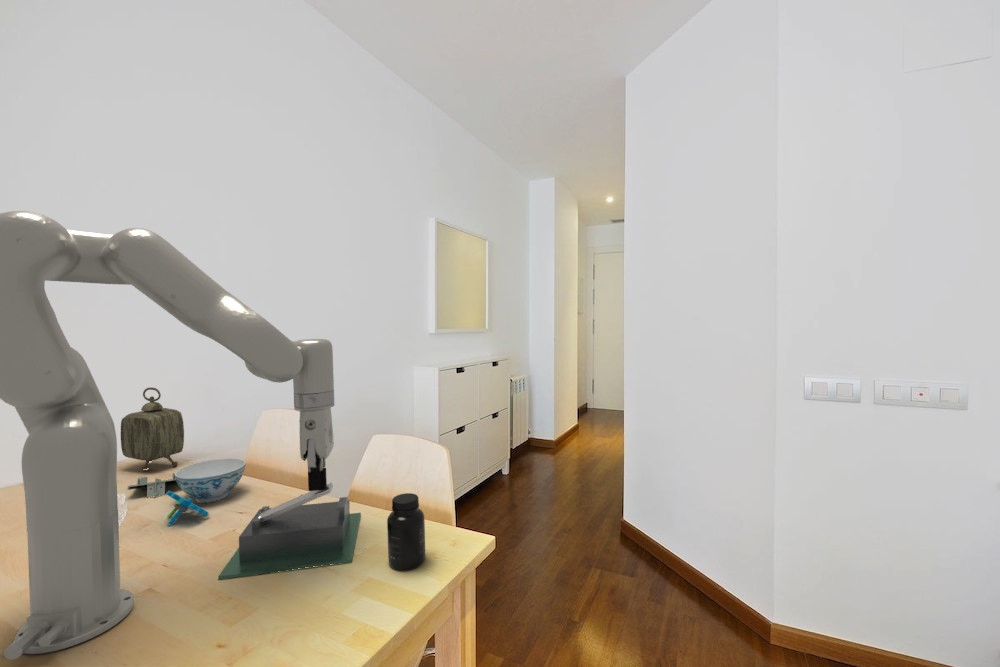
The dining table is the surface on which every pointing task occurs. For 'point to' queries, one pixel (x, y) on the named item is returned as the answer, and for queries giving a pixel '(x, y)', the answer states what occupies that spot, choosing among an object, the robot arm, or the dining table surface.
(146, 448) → the tabletop clock
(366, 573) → the dining table surface
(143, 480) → the metal bracket
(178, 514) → the gear
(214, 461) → the chinaware
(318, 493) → the steel strap
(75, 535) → the robot arm
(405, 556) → the supplement bottle
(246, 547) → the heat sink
